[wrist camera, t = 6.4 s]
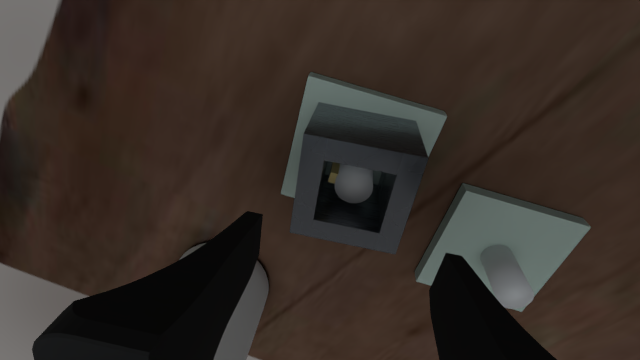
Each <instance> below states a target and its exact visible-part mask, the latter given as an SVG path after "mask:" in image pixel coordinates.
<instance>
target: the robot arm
mask: <svg viewBox="0 0 640 360" xmlns="http://www.w3.org/2000/svg"><path fill="white" fill-rule="evenodd" d="M262 216H263V214H258V213H254V212H249V211H247V212H245V213H244V214H243V215H242V216H240V217H239V218H238V219H237V220H236V221H234V222H233V223H232V224H231V225H230V226H228V227H227V228H226V229H225V230H223V231H222V232H221V233H219V234H218V235H217V236H215V237H214V238H213V239H211V240H210V241H208V242H207V243H206V244H204V245H203V246H201V247H200V248H198V249H197V250H195V251H194V252H192V253H190V254H189V255H187V256H186V257H184V258H182V259H180V260H179V261H177V262H175V263H173V264H171V265H170V266H168V267H166V268H163V269H161V270H159V271H157V272H155V273H153V274H150V275H148V276H146V277H144V278H142V279H139V280H137V281H134V282H132V283H129V284H126V285H124V286H121V287H118V288H115V289H112V290H109V291H106V292H103V293H100V294H96V295H93V296H90V297H87V298H83V299H80V300H76V301H74V302H73V303H72V304H71V305H70V306H68V307H67V308H66V309H65V310H64V311H63V312H62V313H61V314H60V315H59V316H58V317H57V318H56V319H55V320H54V322H53V323H52V324H51V325H50V326H49V327H48V328H47V329H46V330H45V331H44V332H43V333H42V334H41V335H40V336H39V337H38V338H37V339H36V340H35V341H34V344H33V348H32V351H33V356H34V360H213V359H214V357H215V354H216V351H217V349H218V346H219V343H220V341H221V338H222V336H223V333H224V331H225V329H226V327H227V324H228V322H229V320H230V318H231V316H232V314H233V312H234V310H235V308H236V306H237V304H238V302H239V300H240V298H241V296H242V294H243V292H244V290H245V288H246V286H247V284H248V282H249V280H250V278H251V276H252V273H253V270H254V267H255V264H256V262H257V259H258V256H259V249H260V238H261V227H262ZM429 295H430V311H431V319H432V324H433V330H434V335H435V340H436V345H437V350H438V355H439V360H557V359H555V358H554V357H553V356H552V355H551V354H550V353H549V352H548V351H546V350H545V349H544V348H543V347H542V346H541V345H540V344H539V343H538V342H537V341H536V340H535V339H534V338H533V337H532V336H531V335H530V334H529V333H528V332H526V331H525V329H524V328H523V327H522V326H521V325H520V324H519V323H518V322H517V321H516V320H515V319H514V318H513V317H512V316H511V315H510V313H509V312H508V311H507V310H506V309H505V308H504V307H503V306H502V304H501V303H500V302H499V301H498V300H497V299H496V297H495V296H494V295H493V294H492V293H491V291H490V290H489V289H488V288H487V287H486V285H485V284H484V283H483V282H482V280H481V279H480V278H479V276H478V275H477V274H476V273H475V271H474V270H473V269H472V268H471V266H470V265H469V264H468V263H467V261H466V260H465V259H464V258H463V257H462V256H460V255H455V254H450V253H445V256H444V258H443V260H442V262H441V265H440V267H439V269H438V272H437V274H436V276H435V278H434V281H433V283H432V285H431V288H430V290H429Z"/></svg>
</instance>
